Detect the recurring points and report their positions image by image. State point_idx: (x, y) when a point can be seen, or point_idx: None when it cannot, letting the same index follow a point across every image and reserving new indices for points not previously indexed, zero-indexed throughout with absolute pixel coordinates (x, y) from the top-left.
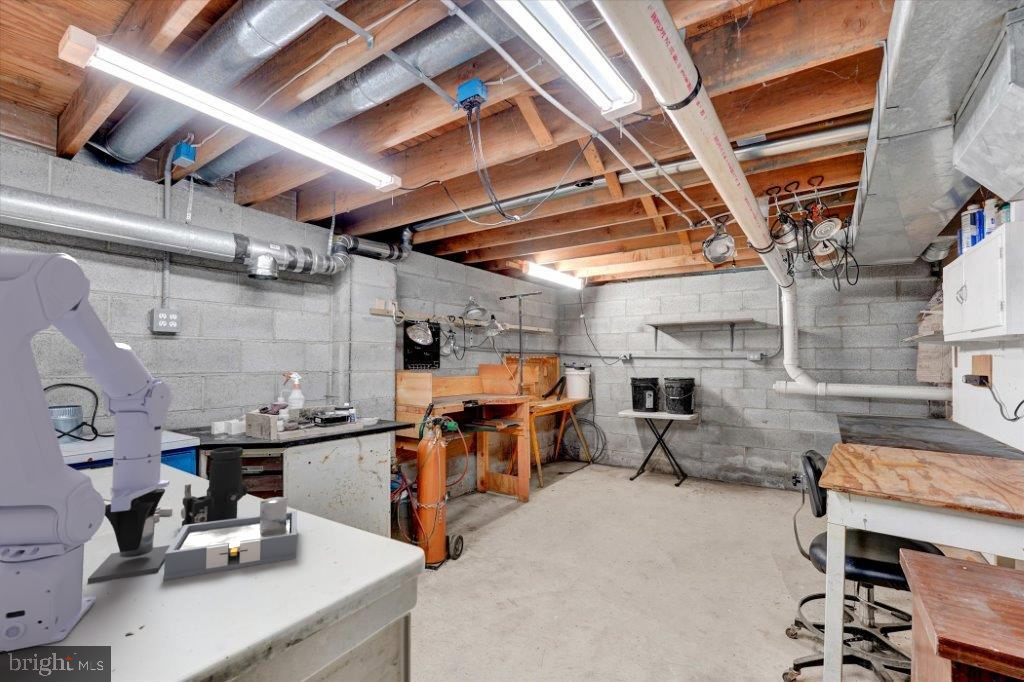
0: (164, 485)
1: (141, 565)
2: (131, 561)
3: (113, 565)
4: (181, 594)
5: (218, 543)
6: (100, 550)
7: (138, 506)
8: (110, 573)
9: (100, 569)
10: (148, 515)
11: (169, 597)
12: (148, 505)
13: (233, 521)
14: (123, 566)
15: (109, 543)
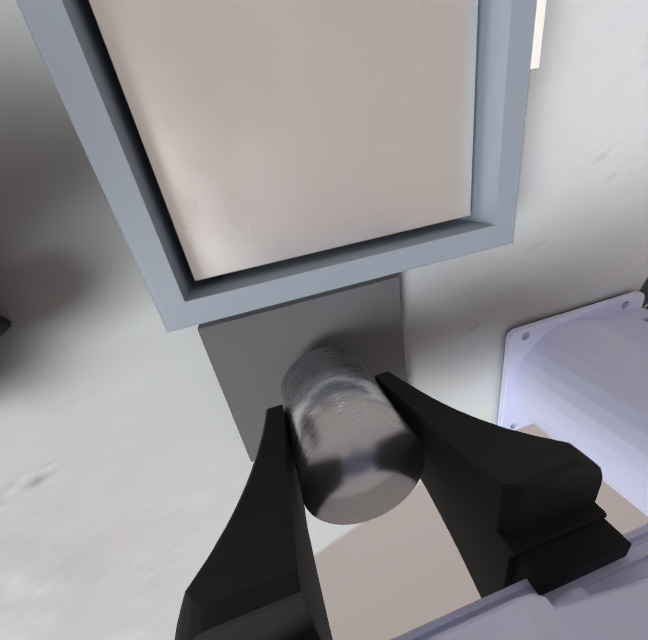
0: (559, 622)
1: (365, 334)
2: None
3: None
4: (571, 127)
5: (398, 54)
6: (191, 507)
7: (581, 502)
8: None
9: None
10: (316, 474)
11: (571, 157)
12: (592, 466)
13: (74, 21)
14: None
15: (134, 523)
